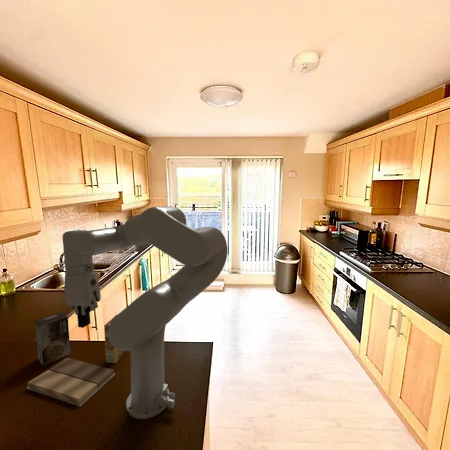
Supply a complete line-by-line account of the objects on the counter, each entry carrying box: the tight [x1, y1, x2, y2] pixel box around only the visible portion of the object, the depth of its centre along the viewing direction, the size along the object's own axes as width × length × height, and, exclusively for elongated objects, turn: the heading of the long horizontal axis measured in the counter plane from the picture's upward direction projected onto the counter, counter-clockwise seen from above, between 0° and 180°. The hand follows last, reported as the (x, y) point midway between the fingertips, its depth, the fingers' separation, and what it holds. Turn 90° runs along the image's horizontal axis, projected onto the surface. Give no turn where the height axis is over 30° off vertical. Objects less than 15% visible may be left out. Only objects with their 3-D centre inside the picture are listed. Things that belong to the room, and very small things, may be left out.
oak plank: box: [27, 369, 97, 404], centre depth 76 cm, size 21×6×2 cm, turn 73°
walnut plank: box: [49, 357, 115, 388], centre depth 83 cm, size 21×6×2 cm, turn 73°
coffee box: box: [34, 312, 71, 366], centre depth 91 cm, size 9×6×16 cm
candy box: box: [103, 314, 126, 364], centre depth 92 cm, size 9×4×15 cm, turn 176°
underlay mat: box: [26, 372, 116, 407], centre depth 79 cm, size 22×14×1 cm, turn 73°
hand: (84, 325), depth 77 cm, fingers closed
